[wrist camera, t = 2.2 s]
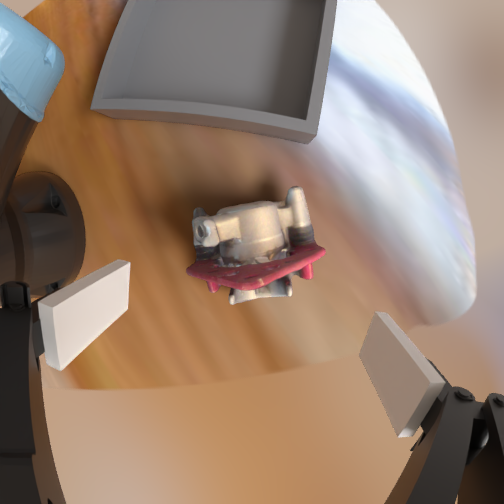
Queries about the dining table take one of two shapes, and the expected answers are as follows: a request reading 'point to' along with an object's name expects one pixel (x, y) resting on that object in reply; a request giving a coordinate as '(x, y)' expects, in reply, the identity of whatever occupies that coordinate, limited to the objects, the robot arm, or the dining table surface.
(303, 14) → the parts bin
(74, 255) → the robot arm
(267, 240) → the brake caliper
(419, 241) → the dining table surface
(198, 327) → the dining table surface
